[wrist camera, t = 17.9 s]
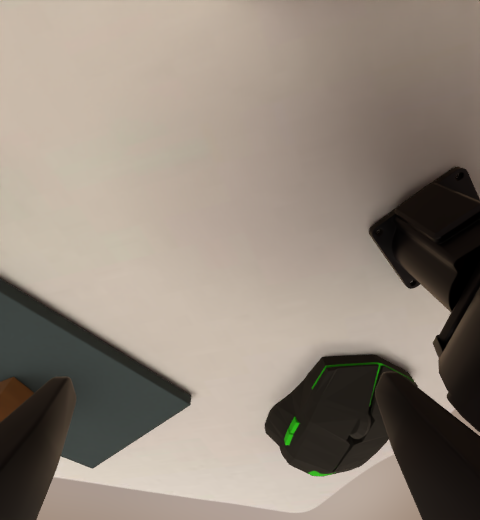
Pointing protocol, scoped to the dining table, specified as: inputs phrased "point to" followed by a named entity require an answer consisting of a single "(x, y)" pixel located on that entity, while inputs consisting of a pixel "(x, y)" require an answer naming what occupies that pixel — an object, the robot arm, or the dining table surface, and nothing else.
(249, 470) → the dining table surface
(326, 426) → the computer mouse
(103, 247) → the dining table surface
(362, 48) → the dining table surface
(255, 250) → the dining table surface
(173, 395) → the rubber mat
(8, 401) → the oak block with hole
